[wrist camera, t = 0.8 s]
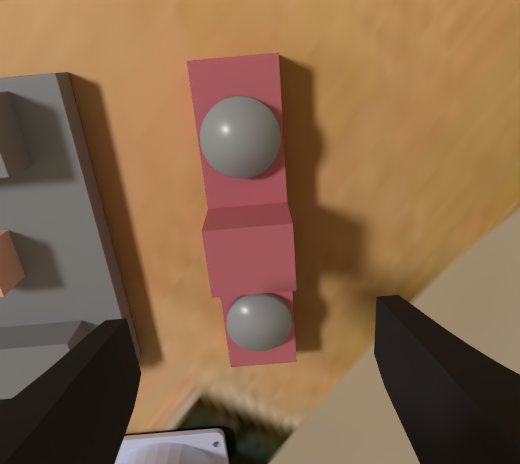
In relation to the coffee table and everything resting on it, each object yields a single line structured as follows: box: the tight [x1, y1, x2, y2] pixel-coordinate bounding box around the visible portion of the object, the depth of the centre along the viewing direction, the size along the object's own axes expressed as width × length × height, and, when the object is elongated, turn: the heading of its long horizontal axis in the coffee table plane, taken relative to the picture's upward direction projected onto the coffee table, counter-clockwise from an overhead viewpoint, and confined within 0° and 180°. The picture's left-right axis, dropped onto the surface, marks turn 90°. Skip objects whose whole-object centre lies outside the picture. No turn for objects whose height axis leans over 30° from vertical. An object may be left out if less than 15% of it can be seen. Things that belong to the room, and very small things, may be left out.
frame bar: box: [187, 53, 297, 367], centre depth 18 cm, size 15×4×4 cm, turn 5°
